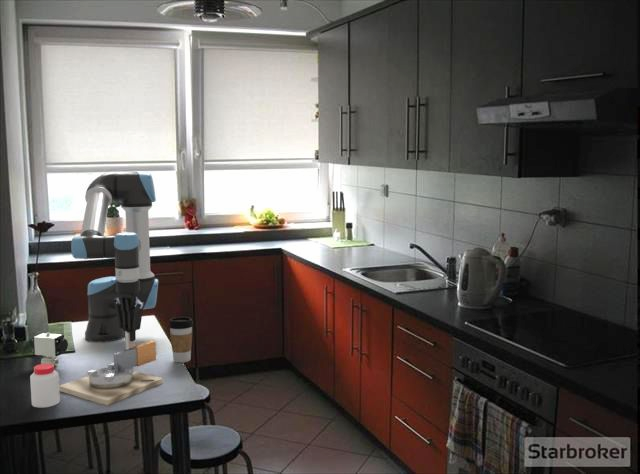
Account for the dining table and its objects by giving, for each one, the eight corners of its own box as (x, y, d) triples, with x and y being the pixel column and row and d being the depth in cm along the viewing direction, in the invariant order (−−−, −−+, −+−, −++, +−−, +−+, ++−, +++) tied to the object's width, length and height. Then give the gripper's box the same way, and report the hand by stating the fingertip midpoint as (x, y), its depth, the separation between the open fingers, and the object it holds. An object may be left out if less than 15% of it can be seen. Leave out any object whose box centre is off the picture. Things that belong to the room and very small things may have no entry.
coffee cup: (164, 362, 230) (163, 320, 228) (178, 355, 238) (177, 314, 236) (185, 365, 227) (184, 322, 225) (198, 357, 235) (197, 316, 233)
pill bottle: (59, 406, 191) (57, 369, 190) (30, 409, 189) (27, 372, 188) (61, 396, 199) (59, 361, 197) (33, 399, 197) (31, 363, 195)
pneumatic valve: (61, 370, 222) (59, 335, 220) (30, 367, 224) (28, 333, 223) (70, 364, 227) (69, 331, 226) (40, 362, 230) (38, 329, 228)
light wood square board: (115, 370, 222) (115, 365, 222) (162, 382, 210) (162, 377, 210) (58, 390, 203) (58, 385, 203) (107, 405, 192) (106, 399, 192)
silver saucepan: (108, 391, 198) (107, 364, 197) (80, 383, 205) (79, 357, 203) (168, 368, 218) (167, 344, 217) (140, 361, 225) (139, 337, 224)
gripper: (105, 279, 217) (108, 349, 220) (132, 284, 210) (135, 356, 213) (123, 276, 223) (125, 344, 226) (150, 280, 216) (152, 350, 219)
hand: (130, 349), depth 219 cm, fingers closed
